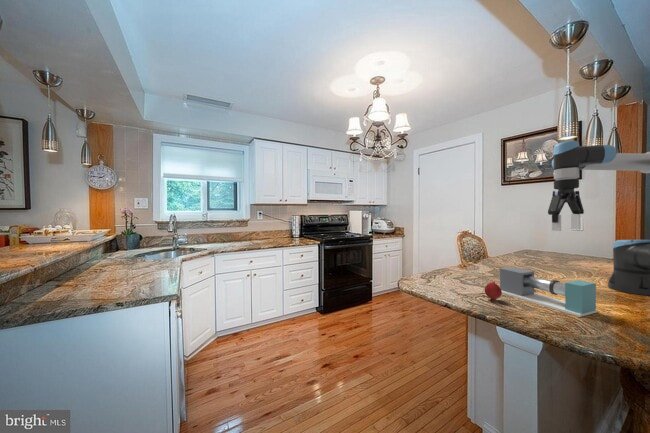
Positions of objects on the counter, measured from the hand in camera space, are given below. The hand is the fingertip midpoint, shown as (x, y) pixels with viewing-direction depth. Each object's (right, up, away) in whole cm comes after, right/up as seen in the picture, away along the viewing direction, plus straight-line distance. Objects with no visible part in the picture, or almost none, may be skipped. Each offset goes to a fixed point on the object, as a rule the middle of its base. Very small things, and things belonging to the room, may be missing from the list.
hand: (566, 230), depth 101 cm
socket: (-9, -29, -14) cm, 33 cm away
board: (-13, -29, -3) cm, 32 cm away
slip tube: (-12, -25, -6) cm, 28 cm away
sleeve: (-16, -29, +6) cm, 33 cm away
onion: (-32, -29, -1) cm, 43 cm away
